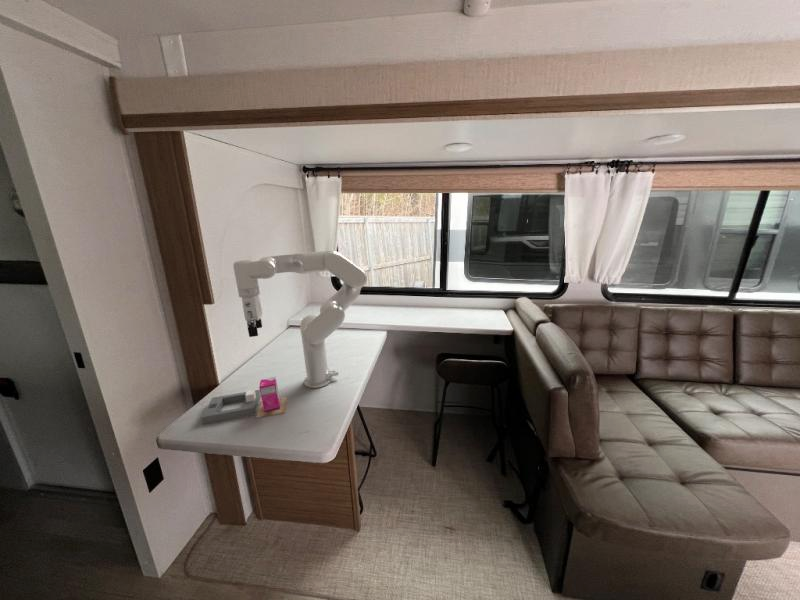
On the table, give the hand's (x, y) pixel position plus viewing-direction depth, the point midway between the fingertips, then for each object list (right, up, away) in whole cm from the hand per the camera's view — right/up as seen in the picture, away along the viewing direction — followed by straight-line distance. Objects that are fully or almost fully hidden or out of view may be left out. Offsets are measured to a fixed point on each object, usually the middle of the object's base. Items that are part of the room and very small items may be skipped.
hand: (256, 331), depth 121 cm
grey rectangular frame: (-7, -31, -3) cm, 32 cm away
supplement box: (+8, -30, -4) cm, 31 cm away
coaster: (+8, -30, -3) cm, 31 cm away
